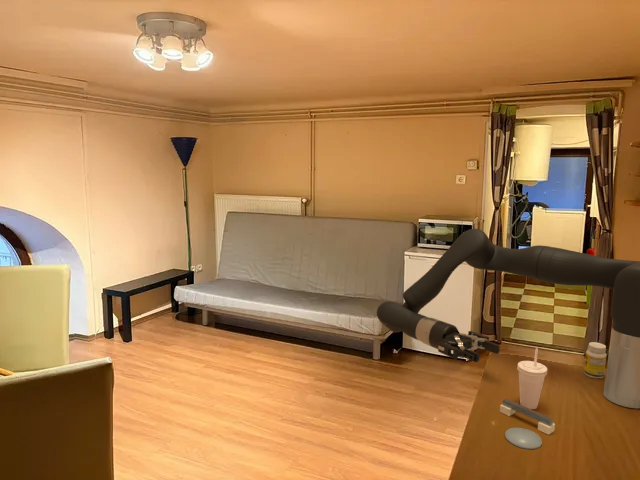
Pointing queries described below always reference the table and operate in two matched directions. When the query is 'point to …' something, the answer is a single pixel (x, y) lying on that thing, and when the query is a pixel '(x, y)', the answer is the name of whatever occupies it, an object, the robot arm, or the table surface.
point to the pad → (523, 438)
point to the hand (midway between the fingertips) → (488, 353)
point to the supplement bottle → (595, 360)
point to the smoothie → (531, 381)
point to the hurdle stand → (541, 426)
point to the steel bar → (528, 412)
